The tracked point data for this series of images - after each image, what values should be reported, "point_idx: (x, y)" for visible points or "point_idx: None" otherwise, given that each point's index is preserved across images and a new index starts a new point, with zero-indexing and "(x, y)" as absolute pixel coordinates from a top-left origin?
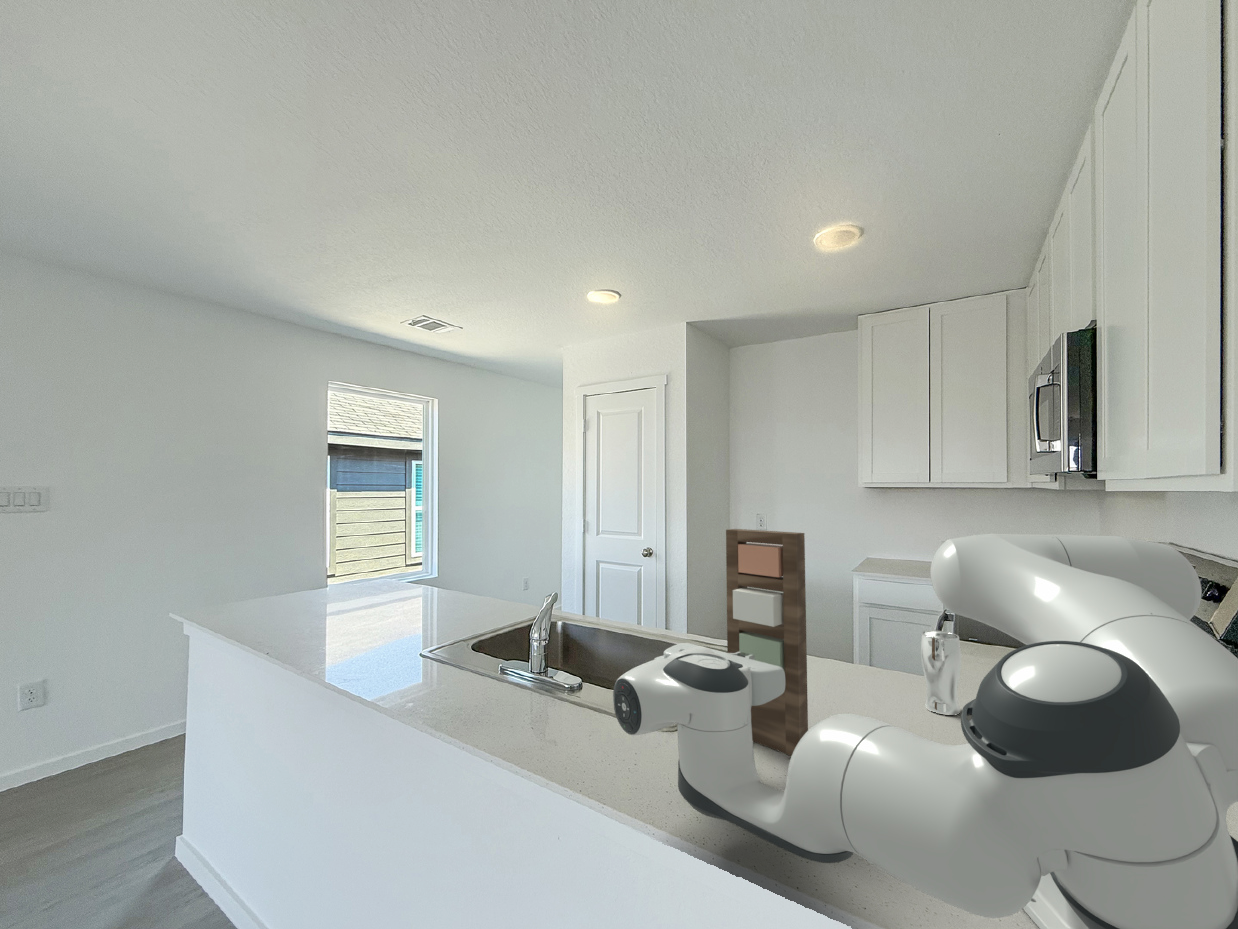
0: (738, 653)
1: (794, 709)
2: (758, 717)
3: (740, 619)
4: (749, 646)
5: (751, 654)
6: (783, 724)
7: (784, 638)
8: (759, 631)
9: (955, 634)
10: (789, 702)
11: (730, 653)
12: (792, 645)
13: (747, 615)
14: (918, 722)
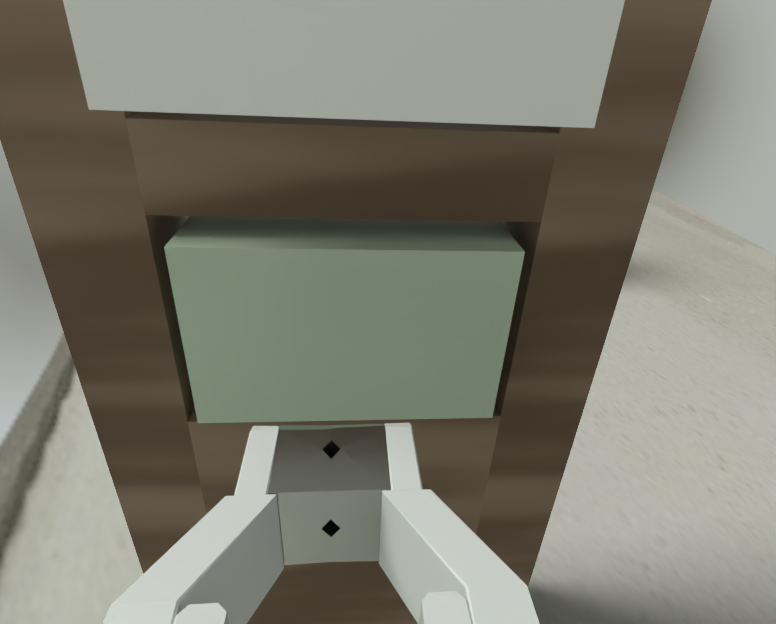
0: (278, 474)
1: (523, 526)
2: (329, 593)
3: (191, 106)
4: (270, 321)
5: (289, 366)
6: None
7: (547, 213)
8: (340, 197)
9: None
10: (504, 511)
11: (208, 542)
12: (594, 249)
13: (282, 41)
14: None
